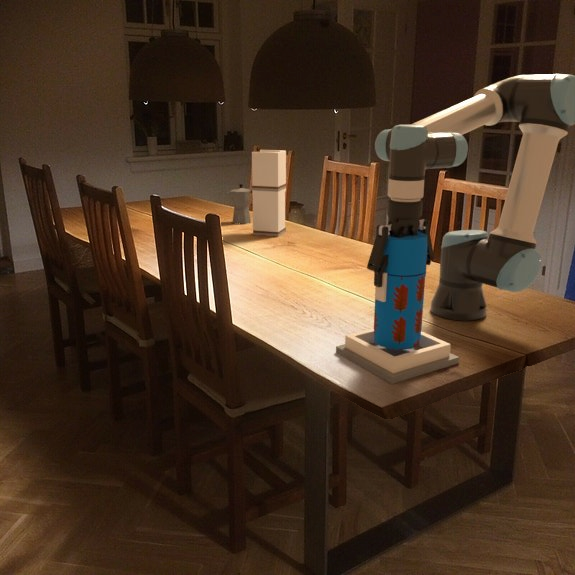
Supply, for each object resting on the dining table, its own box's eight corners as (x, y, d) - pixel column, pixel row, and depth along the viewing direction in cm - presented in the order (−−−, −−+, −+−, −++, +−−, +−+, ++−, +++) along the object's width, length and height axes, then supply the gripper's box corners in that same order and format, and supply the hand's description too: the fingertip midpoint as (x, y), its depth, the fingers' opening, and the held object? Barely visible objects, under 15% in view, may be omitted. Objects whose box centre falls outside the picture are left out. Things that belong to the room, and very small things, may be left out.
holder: (399, 335, 160) (400, 319, 159) (458, 363, 144) (460, 344, 143) (335, 352, 150) (336, 334, 149) (392, 384, 134) (393, 364, 133)
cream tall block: (285, 231, 277) (286, 150, 266) (278, 236, 267) (278, 152, 257) (261, 230, 280) (260, 149, 270) (253, 235, 271) (251, 152, 260)
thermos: (429, 340, 146) (437, 234, 139) (404, 354, 138) (411, 243, 131) (389, 328, 153) (395, 227, 146) (364, 341, 145) (368, 235, 138)
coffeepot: (232, 225, 290) (231, 186, 284) (224, 221, 298) (223, 183, 292) (262, 222, 296) (262, 184, 291) (254, 219, 304) (254, 181, 299)
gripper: (430, 191, 145) (423, 283, 152) (352, 201, 133) (348, 300, 139) (455, 196, 139) (447, 291, 146) (376, 206, 127) (371, 309, 133)
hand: (399, 295), depth 142 cm, fingers closed on thermos, 11 cm apart
